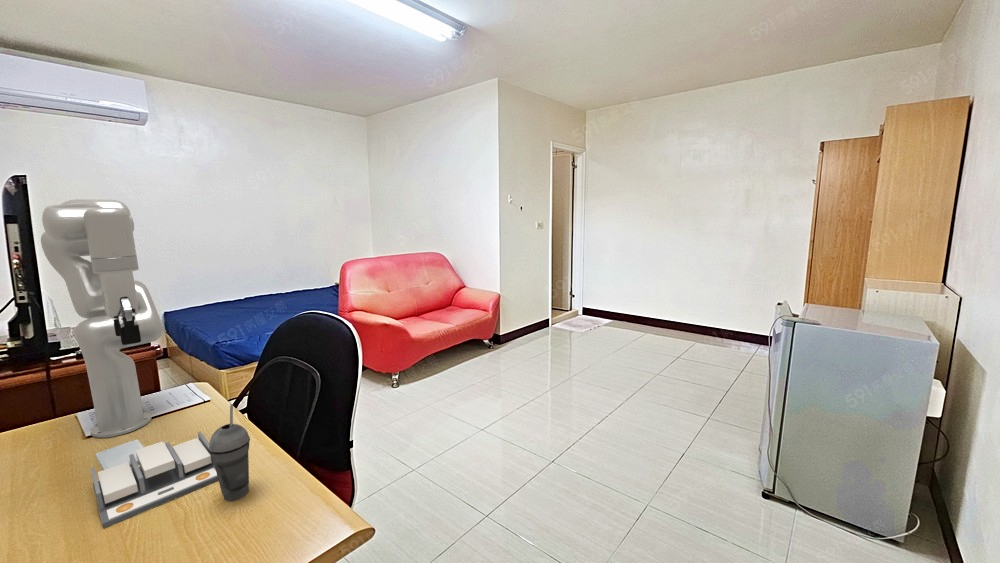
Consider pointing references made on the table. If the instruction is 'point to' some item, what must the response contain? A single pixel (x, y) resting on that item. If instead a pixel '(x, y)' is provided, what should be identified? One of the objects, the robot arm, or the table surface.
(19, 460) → the table surface
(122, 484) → the button
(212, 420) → the table surface
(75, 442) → the table surface
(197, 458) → the button
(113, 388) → the robot arm
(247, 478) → the beverage cup
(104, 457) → the hard drive
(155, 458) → the white rectangular block
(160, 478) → the switch console
